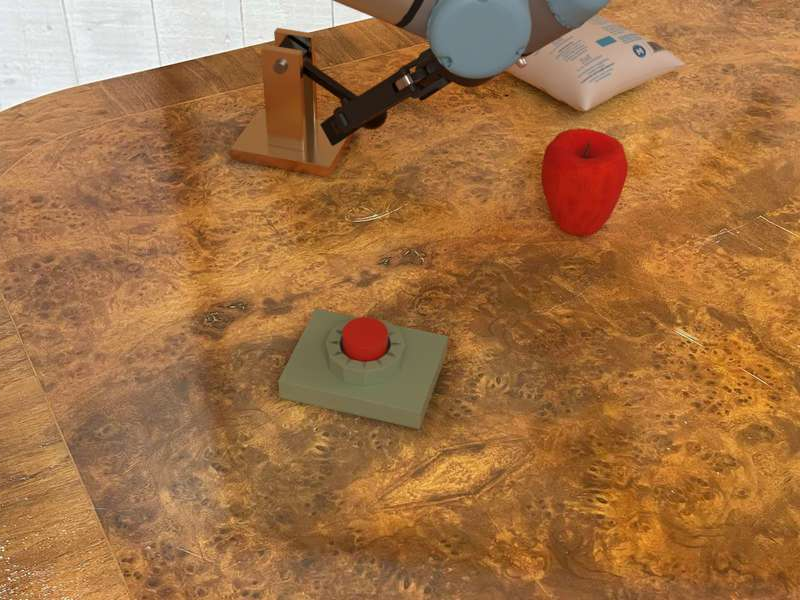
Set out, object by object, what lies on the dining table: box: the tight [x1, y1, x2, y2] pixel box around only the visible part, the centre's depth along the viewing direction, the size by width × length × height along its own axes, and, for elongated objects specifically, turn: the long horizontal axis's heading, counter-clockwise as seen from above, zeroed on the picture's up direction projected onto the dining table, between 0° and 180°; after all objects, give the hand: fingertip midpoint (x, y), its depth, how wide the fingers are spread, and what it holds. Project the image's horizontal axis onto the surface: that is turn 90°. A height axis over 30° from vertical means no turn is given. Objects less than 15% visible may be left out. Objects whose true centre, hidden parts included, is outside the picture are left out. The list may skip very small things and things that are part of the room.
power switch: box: [230, 27, 355, 178], centre depth 121 cm, size 12×9×14 cm
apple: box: [540, 128, 629, 237], centre depth 111 cm, size 9×9×11 cm
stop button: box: [343, 316, 388, 362], centre depth 95 cm, size 4×4×2 cm
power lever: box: [278, 36, 388, 131], centre depth 118 cm, size 14×4×4 cm, turn 75°
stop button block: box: [277, 307, 449, 430], centre depth 96 cm, size 13×10×4 cm
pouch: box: [504, 13, 686, 112], centre depth 135 cm, size 8×19×20 cm
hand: (374, 111), depth 119 cm, fingers open, 13 cm apart
